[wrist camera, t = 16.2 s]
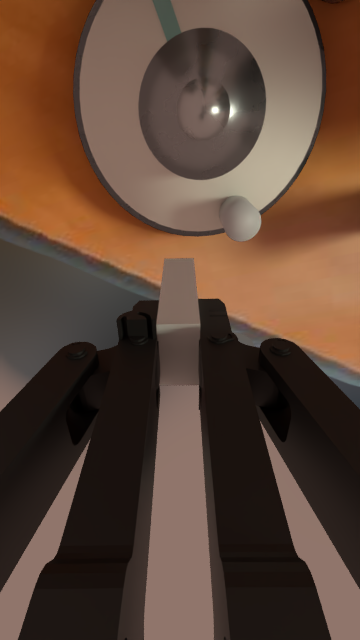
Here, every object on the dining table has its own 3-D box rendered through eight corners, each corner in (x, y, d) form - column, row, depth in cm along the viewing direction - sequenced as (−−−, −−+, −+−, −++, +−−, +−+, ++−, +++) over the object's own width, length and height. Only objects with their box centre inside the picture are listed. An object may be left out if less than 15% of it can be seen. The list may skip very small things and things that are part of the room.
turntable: (45, 141, 30) (19, 143, 25) (172, -138, 21) (170, -215, 17) (215, 264, 35) (221, 284, 31) (365, 81, 27) (404, 71, 23)
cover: (124, 128, 28) (110, 127, 22) (187, 14, 24) (189, -22, 18) (207, 193, 30) (213, 207, 25) (274, 100, 27) (300, 91, 21)
